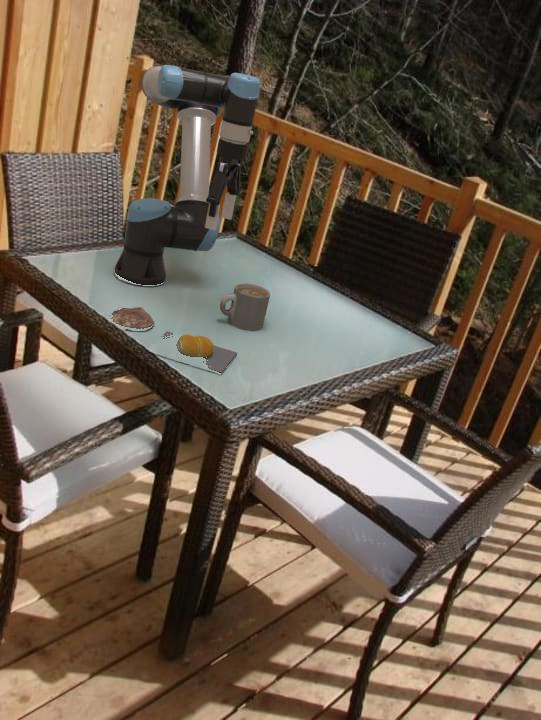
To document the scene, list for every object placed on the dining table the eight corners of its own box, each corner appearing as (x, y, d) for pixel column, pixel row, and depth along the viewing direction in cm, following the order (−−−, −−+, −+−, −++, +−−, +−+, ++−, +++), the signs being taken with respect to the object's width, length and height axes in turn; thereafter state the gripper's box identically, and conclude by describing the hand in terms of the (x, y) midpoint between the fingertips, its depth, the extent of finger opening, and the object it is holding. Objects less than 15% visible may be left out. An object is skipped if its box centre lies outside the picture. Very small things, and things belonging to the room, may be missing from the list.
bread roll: (216, 359, 174) (219, 344, 172) (181, 358, 170) (183, 343, 168) (207, 343, 180) (210, 329, 179) (172, 342, 177) (175, 328, 175)
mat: (146, 352, 171) (146, 349, 171) (166, 333, 183) (167, 331, 182) (221, 375, 168) (221, 372, 168) (236, 355, 180) (237, 352, 180)
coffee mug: (259, 317, 206) (266, 285, 202) (266, 332, 197) (273, 299, 193) (213, 312, 202) (219, 279, 198) (218, 327, 193) (225, 293, 189)
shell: (161, 321, 190) (163, 309, 188) (143, 338, 179) (145, 325, 177) (120, 309, 191) (122, 297, 190) (100, 325, 180) (102, 312, 178)
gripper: (233, 149, 166) (217, 237, 174) (261, 139, 188) (245, 218, 197) (203, 141, 167) (188, 229, 175) (234, 132, 189) (219, 210, 198)
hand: (218, 223), depth 186 cm, fingers open, 13 cm apart
